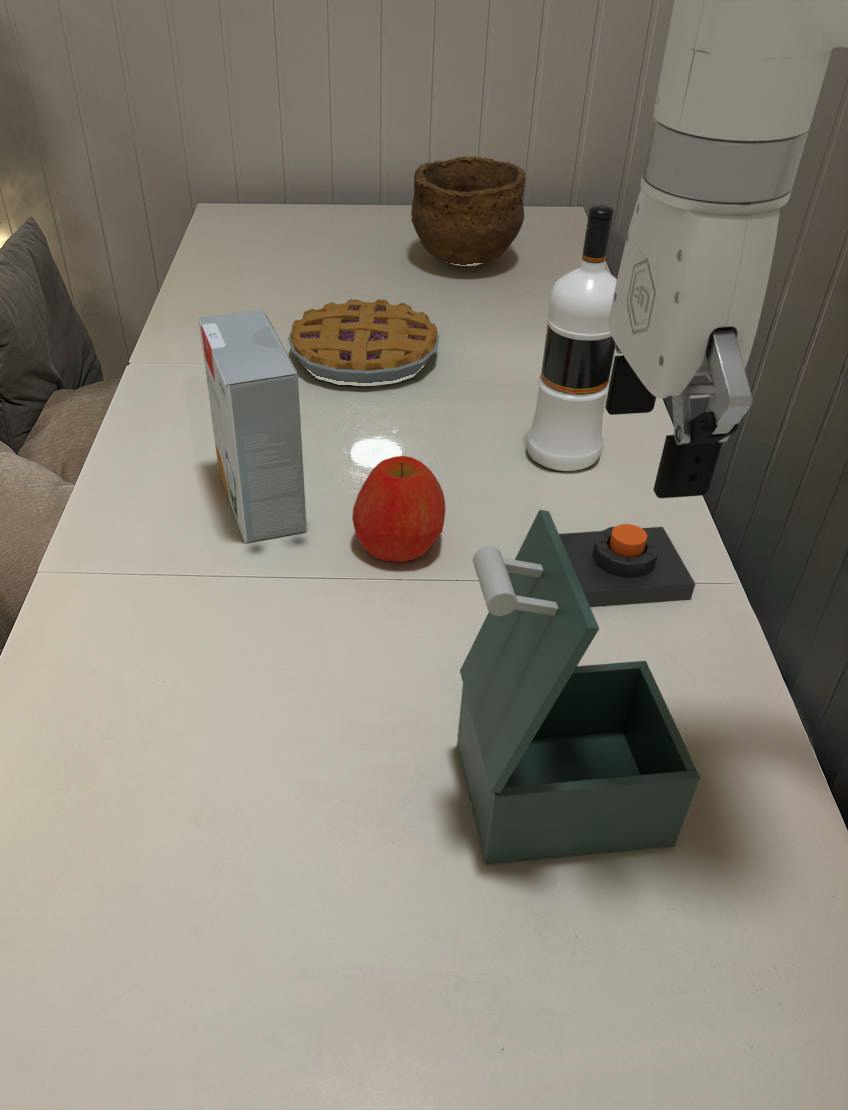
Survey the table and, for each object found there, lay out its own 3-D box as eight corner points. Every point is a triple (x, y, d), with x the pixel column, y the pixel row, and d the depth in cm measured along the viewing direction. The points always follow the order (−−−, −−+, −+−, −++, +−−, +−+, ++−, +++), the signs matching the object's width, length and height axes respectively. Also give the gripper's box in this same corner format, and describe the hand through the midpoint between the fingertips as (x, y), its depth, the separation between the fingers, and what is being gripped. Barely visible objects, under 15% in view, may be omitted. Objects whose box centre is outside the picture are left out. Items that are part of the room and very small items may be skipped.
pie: (290, 325, 146) (288, 293, 143) (431, 322, 147) (433, 291, 144) (287, 395, 130) (285, 361, 127) (445, 392, 131) (447, 358, 128)
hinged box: (626, 729, 86) (646, 660, 80) (674, 846, 77) (700, 777, 71) (456, 744, 85) (463, 675, 78) (485, 864, 75) (495, 796, 69)
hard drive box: (216, 471, 117) (197, 315, 103) (277, 461, 118) (266, 306, 105) (243, 545, 106) (224, 381, 92) (309, 533, 107) (301, 370, 94)
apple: (455, 565, 103) (462, 484, 96) (363, 578, 101) (362, 496, 94) (431, 511, 110) (435, 432, 103) (344, 523, 109) (342, 443, 102)
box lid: (549, 510, 68) (474, 496, 66) (600, 628, 59) (515, 615, 57) (468, 671, 78) (402, 662, 77) (500, 793, 69) (426, 785, 68)
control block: (658, 542, 106) (666, 512, 103) (690, 600, 99) (699, 570, 96) (554, 549, 105) (558, 520, 102) (578, 608, 98) (584, 578, 95)
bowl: (393, 274, 161) (394, 180, 151) (432, 236, 173) (435, 147, 163) (499, 292, 155) (508, 196, 145) (531, 251, 168) (541, 161, 158)
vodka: (515, 464, 118) (546, 213, 97) (538, 428, 124) (571, 186, 103) (588, 481, 115) (635, 227, 94) (607, 444, 121) (656, 198, 100)
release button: (637, 536, 101) (640, 522, 100) (648, 556, 98) (652, 543, 97) (604, 538, 101) (607, 524, 100) (615, 559, 98) (618, 545, 97)
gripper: (600, 116, 54) (559, 387, 66) (713, 225, 42) (638, 536, 54) (726, 111, 55) (663, 381, 67) (874, 217, 42) (766, 527, 54)
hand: (652, 450), depth 60 cm, fingers open, 9 cm apart
